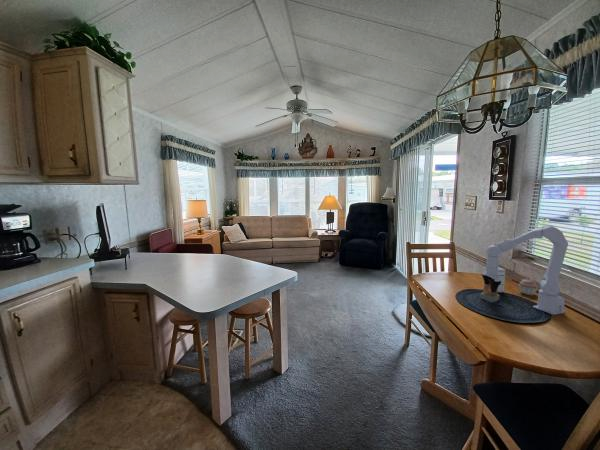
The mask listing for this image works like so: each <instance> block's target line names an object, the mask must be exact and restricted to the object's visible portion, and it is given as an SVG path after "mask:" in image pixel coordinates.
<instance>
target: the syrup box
mask: <svg viewBox="0 0 600 450" xmlns="http://www.w3.org/2000/svg"><path fill="white" fill-rule="evenodd" d="M498 276H499V278H500V280H499V281H501V284H500V285H499V286H498V292H497V293H504V291H505V279H506V269H504V268H502V267H500V266H499V268H498ZM492 280H493V279H492Z"/></svg>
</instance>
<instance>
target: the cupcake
mask: <svg viewBox="0 0 600 450" xmlns="http://www.w3.org/2000/svg"><path fill="white" fill-rule="evenodd" d="M517 285H518V287H519V291H520V293H521V294H522V293H523V295H525V294H526V296H534V295H536V292H537V291H538V289H539V287H538V286H537V285H538V284H537V283H536V282H535V281H534V280H533V279H532V278H530V277H527V278H525V279H524V278H523V279H522V280H521V281H520V282H519V283H518V284H517Z"/></svg>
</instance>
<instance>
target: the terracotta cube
mask: <svg viewBox="0 0 600 450" xmlns="http://www.w3.org/2000/svg"><path fill="white" fill-rule="evenodd" d="M482 293H485V294H487V295H490V296H494V295H497V294H498V293H499V292H498V288H497V291H496V292H491V289H490V284H485V283H484V284H483V291H482Z"/></svg>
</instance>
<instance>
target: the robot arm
mask: <svg viewBox="0 0 600 450" xmlns="http://www.w3.org/2000/svg"><path fill="white" fill-rule="evenodd" d="M543 237H544V238H545V239H546V240H548V241H549V242H551V244H552V245H553V246H552V249H551V253H550V257H549V260H548V264H547V267H546V270H545V274H543V276H542V278H541V279H540V280H539V282H538V285H539V286H540V288H539V290H538V294H537V295H538V297H537V304H536V305H533V306H532V307H533V308H535V309H537V310H540V311H542V312H546V313H548V314H550V315H554V316H556V315H560V314H565V304H566V303H565V302H566V300H565V298H564V297H563V296H560V295H559V293H560V291H561V290H560V286H559V285H560V278H559V277H560V275H561V271H562V267H563V263H564V260H565V256H566V254H567V250H568V246H569V242H568V241H567V239H566V237H565V235H564V232H562V231H561V230H560V229H559V228H558V227H554V226H553V225H550V224H544V225H542V226H540V227H539V226H538V227H536V228H534V229H532V230H530V231H527V232H525V233H523V234H521V235H519V236H517V237H514V238H508V237H507V238H504V239H502V241H499V242H497V243H496V242H495V243H493V244H491V245H489V246H487V248H486V252H487V255H486V261H485V269H484V270H483V273H482V274H481V276H482V278H483V283H484V284H490V289H491V292H496V291H497V288H498V286H499V285H500V284H501V281H499V280H500V278H499V276H498V268H499V267H500V266H499V265H500V255H501V254H502V253H506V252H508V251H510V250H513V249H515V248H516V247H517V245H519V244H521V243H524V242H527V241H530V240H532V239H543ZM492 279H493V280H492Z"/></svg>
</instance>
